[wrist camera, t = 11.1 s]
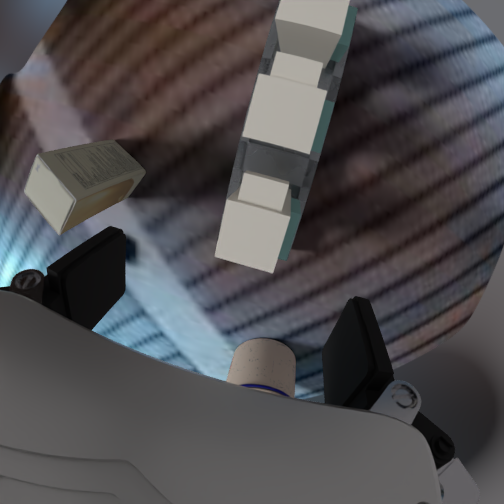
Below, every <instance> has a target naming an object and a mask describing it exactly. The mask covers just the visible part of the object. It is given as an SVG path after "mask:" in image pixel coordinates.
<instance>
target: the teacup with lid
mask: <svg viewBox="0 0 504 504" xmlns="http://www.w3.org/2000/svg"><path fill="white" fill-rule="evenodd" d="M295 372H296V359H295V356H294V354H293V352H292V351H291V349H290V348H289V347H287V346H286V345H285V344H283V343H281V342H279V341H276V340H272V339H267V338H257V339H252V340H248V341H246V342H244V343H242V344H241V345H240V346H239V347H238V348H237V349H236V351H235V353H234V356H233V359H232V363H231V366H230V370H229V373H228V377H227V380H226V382H230V383H233V384H237V385H240V386H244V387H248V388H252V389H256V390H260V391H264V392H269V393H273V394H278V395H282V396H287V397H292V398H294V395H295Z"/></svg>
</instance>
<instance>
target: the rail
mask: <svg viewBox="0 0 504 504" xmlns="http://www.w3.org/2000/svg"><path fill="white" fill-rule="evenodd" d="M280 1H281V0H279V3H278V6H277V9H276V12H275V16H274V19H273V22H272V25H271V29H270V32H269V35H268V39H267V42H266V45H265V49H264V52H263V56H262V59H261V63H260V66H259V70H258V73H257V77H256V81H255V84H254V88H253V92H252V95H251V99H250V103H249V107H248V110H247V114H246V118H245V122H244V126H243V130H242V134H241V138H240V142H239V146H238V150H237V154H236V158H235V162H234V167H233V171H232V175H231V179H230V184H229V188H228V193H227V197H226V200H227V199H228V198H229V197H230V196H231V195H232V194H233V193H234V192H235V191H236V190H237V189H238V188H239V187H240V186H241V183H242V179H243V175H244V172H246V171H247V170H248V171H252V172H256V173H259V174H263V175H267V176H271V177H274V178H278V179H281V180H285V181H289V187H288V189H291V198H294V199H297V200H300V207H301V217H302V213H303V210H304V207H305V204H306V201H307V198H308V194H309V191H310V188H311V185H312V181H313V178H314V175H315V171H316V168H317V165H318V161H319V158H320V155H321V153H317V152H314V151H310V154H307V153H303V152H300V151H297V150H293V149H290V148H286V147H283V146H279V145H275V144H271V143H268V142H264V141H260V140H256V139H251V138H247V137H243V136H242V135H243V131H244V127H245V123H246V120H247V116H248V112H249V108H250V104H251V100H252V97H253V93H254V89H255V86H256V82H257V78H258V75H259V74H264V75H269V76H270V74H271V70H272V67H273V63H274V60H275V56H276V52H281V51H280V45H279V39H278V33H277V27H276V22H275V17H276V14H277V10H278V7H279V4H280ZM355 20H356V18H355ZM354 24H355V23H354ZM353 29H354V27H353ZM352 33H353V31H352ZM351 38H352V36H351ZM350 42H351V40H350ZM349 46H350V44H349ZM348 50H349V47H348V49H347V50H346V52H345V54H344V55H343V57H342V58H341V60H340V61H339V62H336V61H333V60H329V62H328V64H327V66H326V68H325V69H324V68H322V70H321V74H320V78H319V81H318V85H317V88H319V89H322V90H326V91H327V94H326V97H325V100H328V101H331V102H334V105H335V101H336V97H337V94H338V90H339V86H340V82H341V78H342V74H343V70H344V66H345V62H346V58H347V54H348ZM333 109H334V107H333ZM332 112H333V111H332ZM331 116H332V114H331ZM330 119H331V118H330ZM329 123H330V122H329ZM328 127H329V125H328ZM327 130H328V129H327ZM326 134H327V132H326ZM325 137H326V136H325ZM324 141H325V139H324ZM323 144H324V143H323ZM322 148H323V146H322ZM321 151H322V150H321ZM225 205H226V201H225ZM224 209H225V206H224ZM223 214H224V210H223ZM301 217H300V220H301ZM222 219H223V215H222ZM300 220H299V223H300ZM221 223H222V220H221ZM299 223H298V226H299ZM220 228H221V224H220ZM297 229H298V227H297ZM296 232H297V230H296ZM219 233H220V229H219ZM295 235H296V233H295ZM218 238H219V234H218ZM218 238H217V241H218ZM294 238H295V236H294ZM293 241H294V239H293ZM292 244H293V242H292ZM291 247H292V245H291ZM290 250H291V248H290ZM289 253H290V251H289ZM288 256H289V254H288ZM287 259H288V257H287ZM286 261H287V260H286Z"/></svg>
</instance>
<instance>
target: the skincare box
mask: <svg viewBox="0 0 504 504" xmlns="http://www.w3.org/2000/svg"><path fill="white" fill-rule="evenodd" d="M145 174H146V171H145V169H144V168H143V167H142V166H141V165H140V164H139V163H138V162H137V161H136V160H135V159H134V158H133V157H132V156H131V155H129V154H128V153H127V152H126V151H125V150H124V149H123V148H122V147H121V146H120V145H119V144H118V143H117V142H115V141H114V140H108V141H101V142H95V143H89V144H83V145H78V146H72V147H67V148H62V149H58V150H53V151H49V152H45V153H41V154H37V156H36V158H35V161H34V163H33V166H32V168H31V171H30V174H29V177H28V180H27V183H26V186H25V190H24V192H25V194H26V195H27V197H28V198H29V199H30V201H31V202H32V204H33V205H34V206H35V207H36V209H37V210H38V211H39V213H40V214H41V215H42V216H43V217H44V219H45V220H46V221H47V222H48V223H49V224H50V226H51V227H52V228H53V229H54V230H55V231H56V232H57V233H58V235H61V234H62V233H64V232H66V231H67V230H69V229H71V228H73V227H74V226H76V225H78V224H80V223H81V222H83V221H85V220H86V219H88V218H90V217H92V216H94V215H96V214H97V213H99V212H101V211H103V210H105V209H107V208H109V207H111V206H113V205H114V204H116V203H118V202H120V201H122V200H124V199H126V198H128V197H129V196H130V194H131V193H132V192H133V190H134V189H135V188H136V186H137V185H138V183H139V182H140V181H141V179H142V178H143V177H144V175H145Z"/></svg>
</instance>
